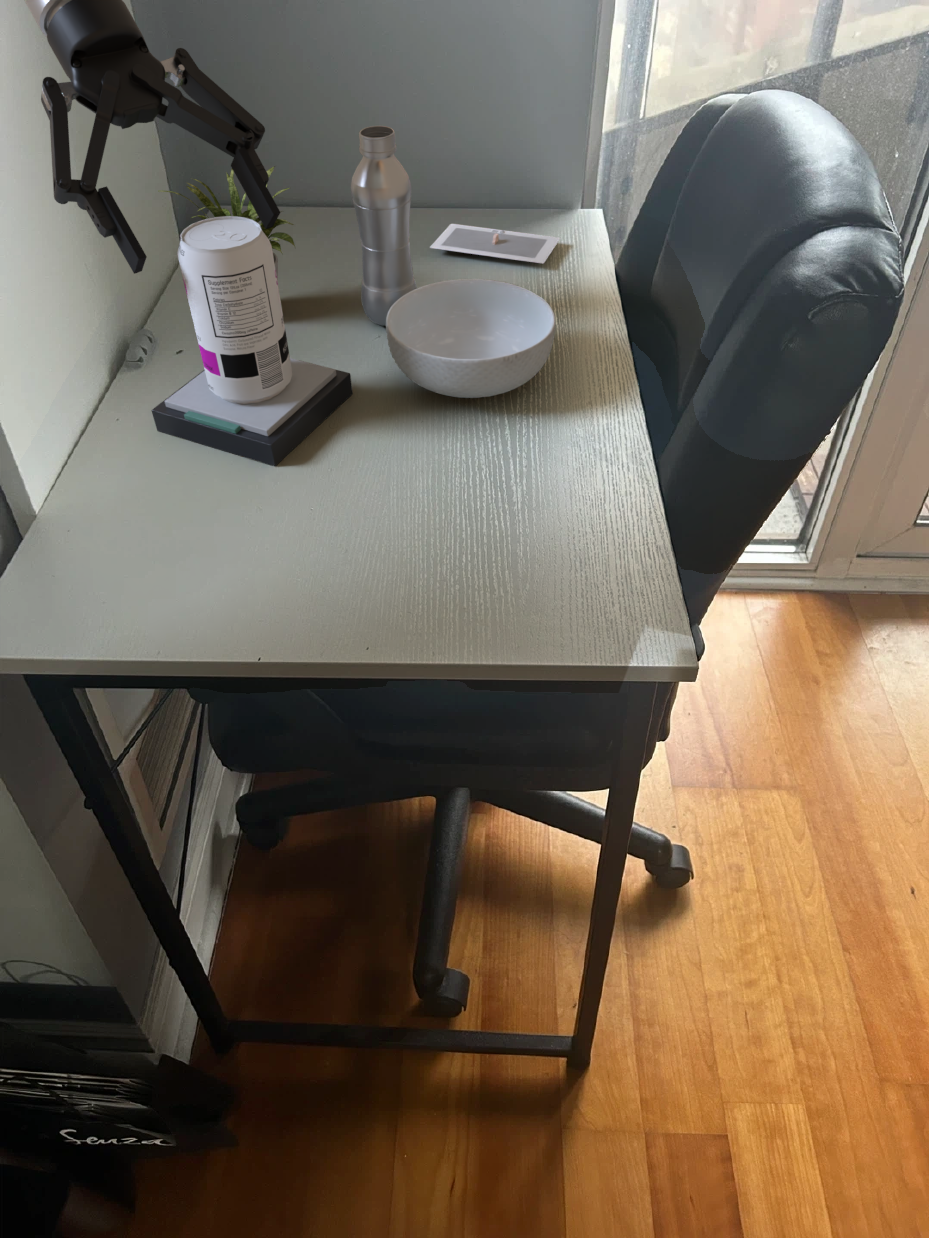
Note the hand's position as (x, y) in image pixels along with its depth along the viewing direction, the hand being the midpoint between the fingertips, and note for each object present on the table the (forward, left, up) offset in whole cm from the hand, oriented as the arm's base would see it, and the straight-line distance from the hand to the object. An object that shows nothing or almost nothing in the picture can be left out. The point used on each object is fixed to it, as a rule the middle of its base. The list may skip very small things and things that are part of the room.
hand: (209, 243), depth 84 cm
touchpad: (+43, +8, -17) cm, 47 cm away
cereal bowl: (+20, -13, -17) cm, 29 cm away
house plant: (+10, +15, -17) cm, 25 cm away
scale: (0, -3, -16) cm, 17 cm away
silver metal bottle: (+22, +3, -17) cm, 28 cm away
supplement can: (0, -3, -13) cm, 14 cm away
